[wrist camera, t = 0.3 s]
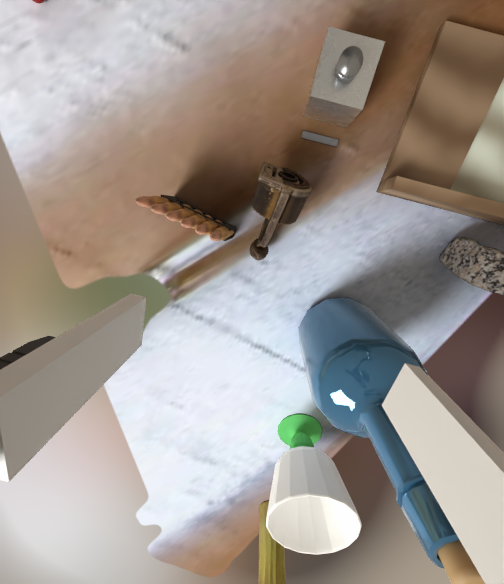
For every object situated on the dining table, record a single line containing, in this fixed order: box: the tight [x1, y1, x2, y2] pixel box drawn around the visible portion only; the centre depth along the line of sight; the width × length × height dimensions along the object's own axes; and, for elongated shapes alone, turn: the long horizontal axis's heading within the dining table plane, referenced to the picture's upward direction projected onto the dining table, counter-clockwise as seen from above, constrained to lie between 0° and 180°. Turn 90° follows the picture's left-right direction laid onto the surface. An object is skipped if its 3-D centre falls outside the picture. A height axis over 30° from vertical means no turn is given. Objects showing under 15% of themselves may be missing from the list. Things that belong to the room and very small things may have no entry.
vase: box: [259, 501, 286, 584], centre depth 51 cm, size 6×6×14 cm
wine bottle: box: [299, 298, 485, 584], centre depth 27 cm, size 14×13×30 cm
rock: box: [440, 237, 504, 295], centre depth 31 cm, size 13×9×4 cm
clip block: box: [303, 27, 385, 128], centre depth 27 cm, size 6×6×8 cm
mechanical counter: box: [250, 162, 312, 260], centre depth 31 cm, size 7×13×10 cm, turn 176°
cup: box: [266, 414, 362, 554], centre depth 41 cm, size 14×14×16 cm
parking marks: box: [301, 131, 339, 147], centre depth 30 cm, size 11×5×1 cm, turn 166°
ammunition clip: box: [135, 195, 237, 241], centre depth 31 cm, size 11×2×12 cm, turn 65°
